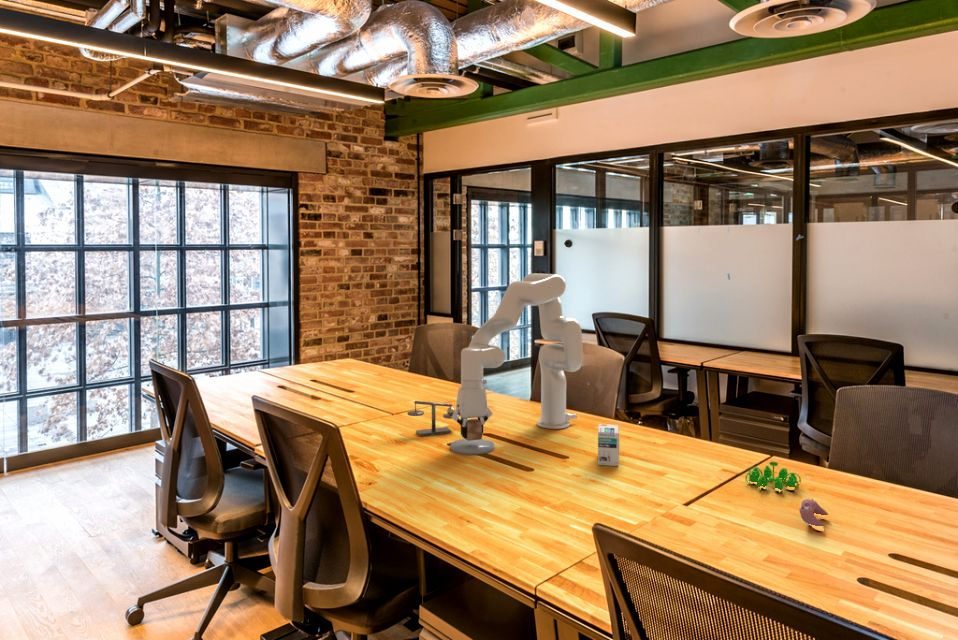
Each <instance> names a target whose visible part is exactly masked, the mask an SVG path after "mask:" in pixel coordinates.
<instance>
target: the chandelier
mask: <svg viewBox="0 0 958 640" xmlns="http://www.w3.org/2000/svg"><path fill="white" fill-rule="evenodd" d="M778 465H779V463H778V462H776V461H769V465H765V468H764V470H763V471H762V470H761V469H760V468H759V467H757V466H753V467H750V469H749V470H748V472H747V473H746V475H745V481H746V482H749V481H751V482H757V483H758V485H757V488H758V487H760V486H763V487H765V486H767V487H768V482H774V487H775V488H778V489H780V490H782V488H784V484H785V485H786V487H787V486H789V487H795V483H797V487H795V488H796V489H797V488H798V489H799V487H800V484H798V483H799V482H800V483H801V482H802V481H801V480H802V479H801V476H800V475H799V474H798V473H796V472H788V470H787V468H786V467H785V468H784V467H782V468H781V469H779V472H778V476H776V477H775V467H778ZM770 466H772V468H770ZM748 476H749V478H748ZM771 476H772V477H771ZM797 476H798V477H797ZM759 477H760V478H759ZM747 478H748V479H747ZM758 478H759V480H758ZM767 478H769V480H768V479H767ZM780 478H782V479H780ZM784 478H785V479H784ZM798 478H799V481H798ZM786 479H787V480H786ZM781 480H784V481H781ZM785 482H786V483H787V484H786V483H785ZM762 484H763V485H762ZM774 487H773V488H774Z"/></svg>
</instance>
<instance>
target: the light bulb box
mask: <svg viewBox="0 0 958 640" xmlns="http://www.w3.org/2000/svg"><path fill="white" fill-rule="evenodd" d="M597 449H598V450H597V465H598V466H607V467H609V466H611V467H612V466H613V467H620V466H619V465H620V425H619V424H605V423H604V424H603V423H599V424H598V429H597Z"/></svg>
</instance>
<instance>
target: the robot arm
mask: <svg viewBox="0 0 958 640" xmlns="http://www.w3.org/2000/svg"><path fill="white" fill-rule="evenodd" d="M566 284H567V283H566V281H565V279H564V277H562V275H559V274H555V273H535V272H534V273H529V274H527V275H525V276H524V277H523V279H522V280H517V281H513V282H511V283H510V284H509V285H508V286H507V289H506V291H505V292H504V295H503V297H502V299H501V301H500V303H499V305H498V307H497V310H496V311H495V313H494V315H493V316H492V317H491V318H489V319H488V320H487V321H485V322H484V323H483V324H481V326H480V327H479V328H478V329H477V330H476V331H475V332H474V335H472V336H473V337H472V338H471V341H470V343H469V345H468V347H465V348H462V350H461V352H460V387H459V388H458V389H457V394H456V395H457V396H456V406H455V412H454V414H453V415H452V418H453V419H452V420H454V421H456V422H457V423H458V424H459V426H460V435H461V437H462V438H463V437H464V438H463V439H465V438H467V427H466V422H467V420H468V419H475V418H476V419H478V420H479V421H481V422H482V434H484V425H485V424H486V422H487V421H488V420H489V418H491V416H493V412H492V410H491V409H490V408H489V406H488V401H487V400H488V397H487V392H486V388H485V384H487V383H488V380H487V379H484V369H495V368H498V367H501V366H502V365H503V364H504V362H505V360H506V354H505V351H504V350H503V348H501V347H500V346H495V345H491V344H489V343H490V341H492V340H493V339H494V338H496V336H498V335H500V334H503V333H505V332H508V331H510V330H512V329H514V328H515V327H516V326H517V325H518V322H519V321H520V318H521V316H522V313H523V312H524V310H525V308H526V306H530V307H535V306H536V307H538V311H539V323H540V325H539V327H540V334H541V336H542V338H543V339H544V340H546V341H549V342H555V343H547V344H544V345H543V346H542V347H541V348H540V350H539V351H538V352H539V353H538V360H539V366H540V376H541V381H540V382H541V385H540V394H541V395H540V399H541V400H540V419H538V420H537V422H536V425H537V426H538V427H540V428H543V429H549V430H562V429H566V428H568V427H570V426H571V424H570V420H575V419H577V418H578V415H577V413H570V412H567V377H566V375H565V372H569V373H573V372H578V371H579V370H580V369H581V367H582V366H583V360H584V350H583V348H584V347H583V332H582V327H581V324H580V322H579V321H578V320H577V319H575V318H573V317H566V316H564V315H563V309H562V302H561V301H562V300H561V299H560V297H561V296H562V295H564V293H565V291H566V288H567V287H566ZM556 342H557V343H556ZM559 343H562V344H559ZM457 416H459V417H460V418H459V417H457Z"/></svg>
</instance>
